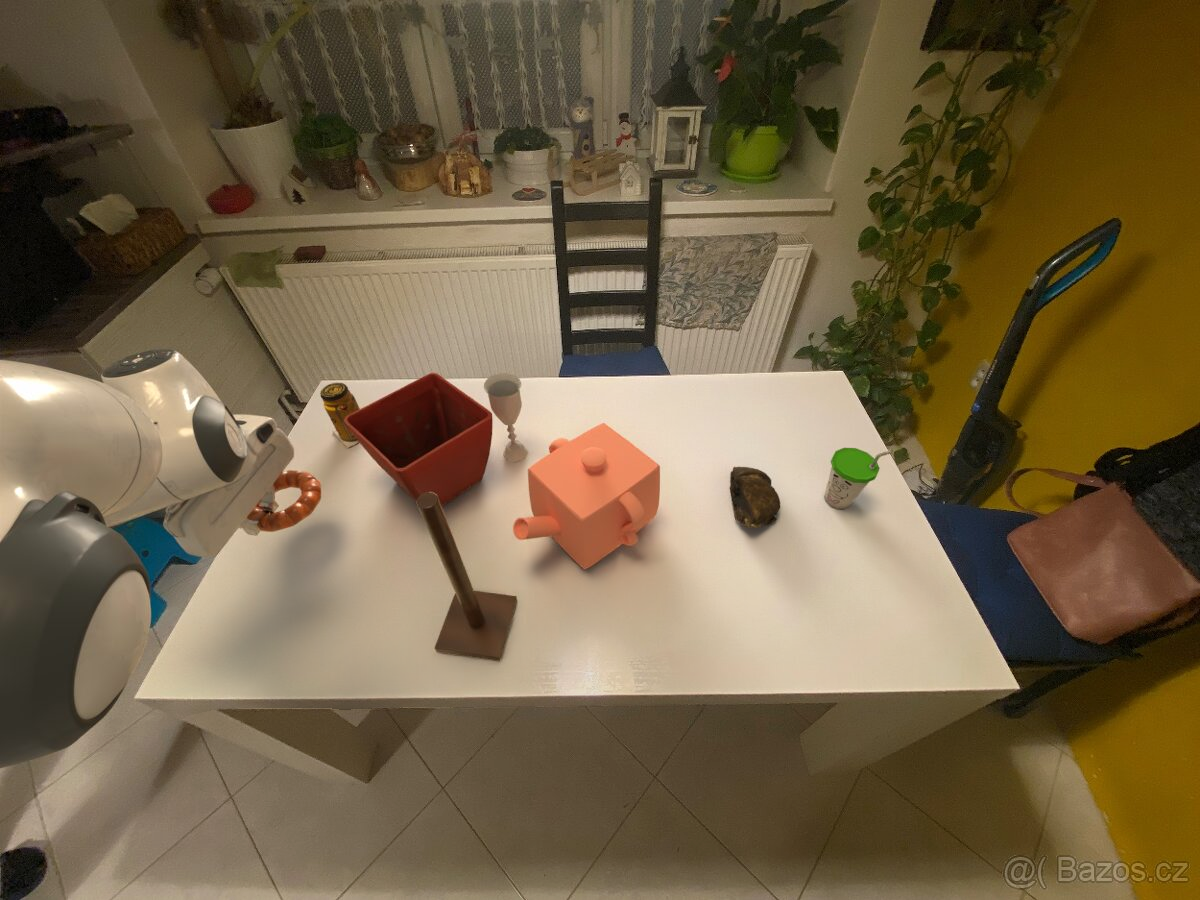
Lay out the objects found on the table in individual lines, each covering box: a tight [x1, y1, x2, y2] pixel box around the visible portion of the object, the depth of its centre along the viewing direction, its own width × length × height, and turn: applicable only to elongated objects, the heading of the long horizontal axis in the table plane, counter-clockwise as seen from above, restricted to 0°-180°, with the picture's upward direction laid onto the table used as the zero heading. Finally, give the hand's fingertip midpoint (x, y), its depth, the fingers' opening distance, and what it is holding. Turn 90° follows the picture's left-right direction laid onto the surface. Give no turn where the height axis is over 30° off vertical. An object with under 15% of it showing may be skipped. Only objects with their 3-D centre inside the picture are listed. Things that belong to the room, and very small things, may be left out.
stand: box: [415, 492, 518, 662], centre depth 69 cm, size 10×10×32 cm
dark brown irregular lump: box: [729, 466, 781, 529], centre depth 94 cm, size 16×9×7 cm, turn 178°
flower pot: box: [344, 372, 494, 507], centre depth 95 cm, size 19×19×17 cm
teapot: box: [512, 422, 661, 570], centre depth 85 cm, size 25×23×18 cm
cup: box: [823, 447, 893, 510], centre depth 91 cm, size 8×8×15 cm
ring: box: [247, 469, 322, 533], centre depth 81 cm, size 12×12×3 cm
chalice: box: [483, 372, 528, 463], centre depth 100 cm, size 7×7×18 cm
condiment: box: [319, 382, 361, 449], centre depth 107 cm, size 7×8×12 cm
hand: (264, 520), depth 78 cm, fingers closed on ring, 3 cm apart
